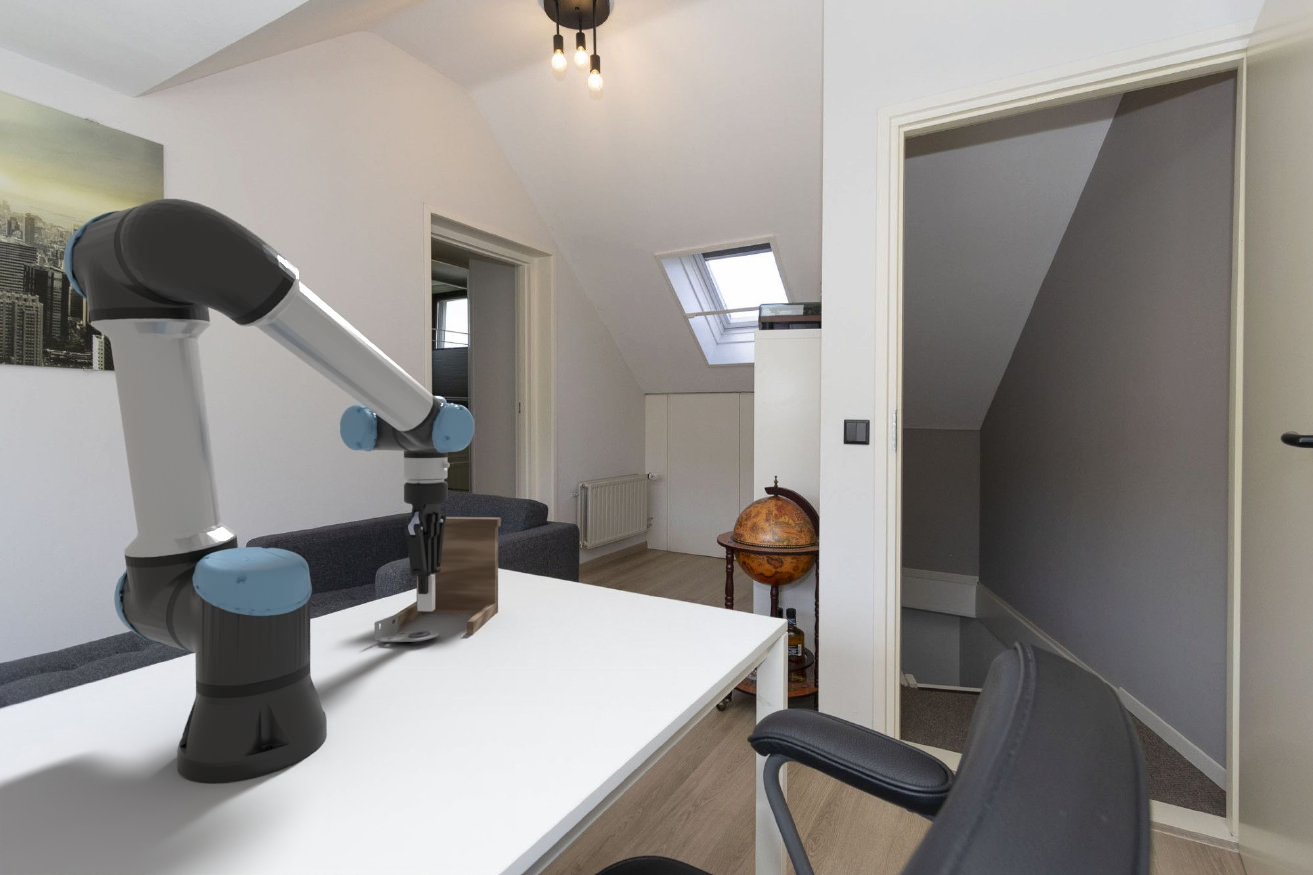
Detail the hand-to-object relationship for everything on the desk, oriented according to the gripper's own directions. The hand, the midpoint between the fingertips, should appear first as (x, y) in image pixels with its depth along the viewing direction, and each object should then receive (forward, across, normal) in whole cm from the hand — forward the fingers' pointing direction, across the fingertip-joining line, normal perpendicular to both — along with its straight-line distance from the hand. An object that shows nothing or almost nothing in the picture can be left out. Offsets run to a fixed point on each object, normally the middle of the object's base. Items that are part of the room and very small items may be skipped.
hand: (426, 609), depth 118 cm
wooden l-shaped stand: (+5, +7, 0) cm, 9 cm away
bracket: (+6, -5, 0) cm, 8 cm away
